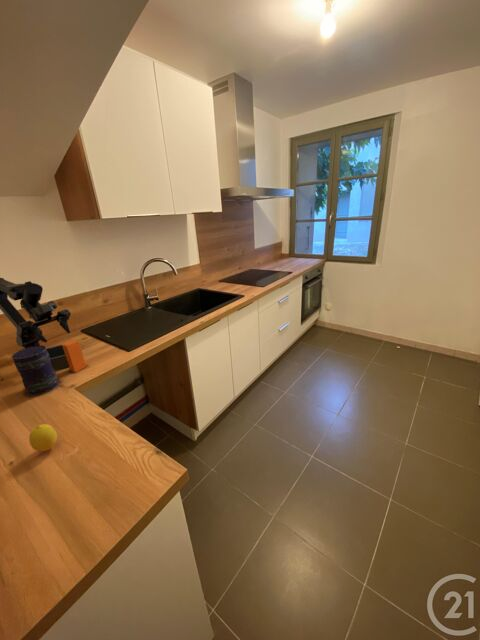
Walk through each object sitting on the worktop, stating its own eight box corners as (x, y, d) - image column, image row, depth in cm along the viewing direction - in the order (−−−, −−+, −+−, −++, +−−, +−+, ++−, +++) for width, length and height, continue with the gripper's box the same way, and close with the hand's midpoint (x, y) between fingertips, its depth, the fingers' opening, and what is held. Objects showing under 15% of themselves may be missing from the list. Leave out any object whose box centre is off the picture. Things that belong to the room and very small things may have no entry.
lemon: (45, 441, 72) (36, 418, 69) (65, 440, 72) (56, 417, 69) (30, 458, 67) (19, 434, 64) (51, 458, 67) (40, 434, 64)
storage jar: (20, 393, 94) (4, 357, 89) (46, 378, 103) (33, 344, 98) (39, 397, 91) (24, 360, 86) (65, 381, 100) (52, 346, 94)
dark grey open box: (44, 361, 117) (40, 350, 115) (76, 352, 123) (73, 341, 121) (43, 374, 106) (38, 362, 104) (78, 363, 112) (74, 352, 110)
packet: (70, 370, 107) (61, 344, 103) (81, 365, 111) (73, 339, 107) (75, 372, 106) (66, 345, 101) (86, 366, 110) (78, 340, 105)
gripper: (9, 304, 96) (36, 335, 95) (61, 291, 111) (84, 318, 110) (7, 321, 102) (32, 351, 101) (56, 306, 117) (78, 332, 116)
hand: (58, 337), depth 107 cm, fingers open, 9 cm apart
